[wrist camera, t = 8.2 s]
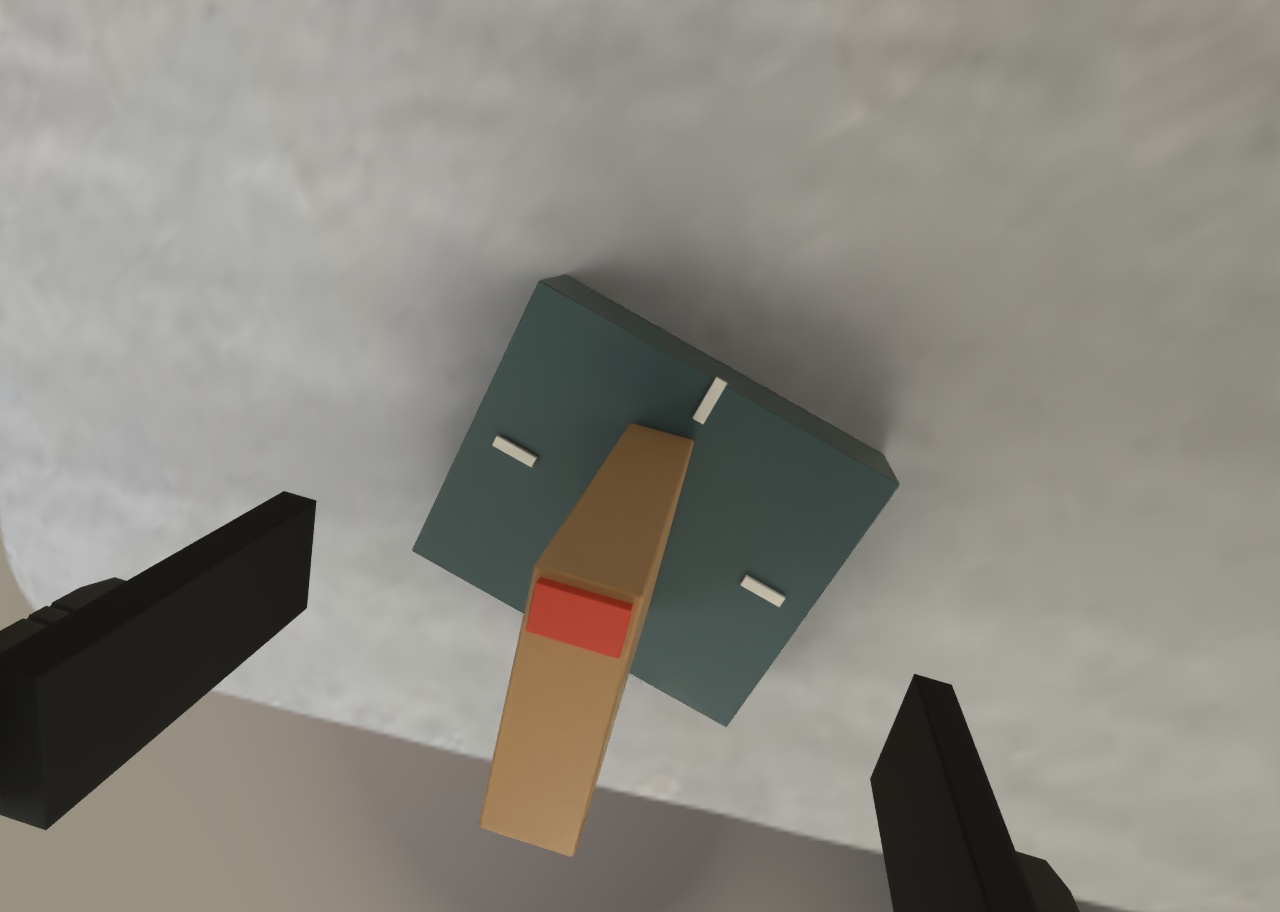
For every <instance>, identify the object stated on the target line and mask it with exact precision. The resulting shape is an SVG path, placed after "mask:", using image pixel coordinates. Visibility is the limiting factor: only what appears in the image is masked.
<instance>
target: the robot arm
mask: <svg viewBox="0 0 1280 912" xmlns="http://www.w3.org/2000/svg"><path fill="white" fill-rule="evenodd" d="M315 510H316V500H313V499H309V498H306V497H302V496H299V495H296V494H292V493H289V492H285V491H283V492H281V493H280V494H278V495H276V496H274V497H273V498H271V499H269V500H267V501H266V502H264V503H262V504H260V505H259V506H257V507H255V508H253V509H252V510H250V511H248V512H246V513H245V514H243V515H241V516H239V517H238V518H236V519H234V520H232V521H231V522H229V523H227V524H225V525H224V526H222V527H220V528H218V529H217V530H215V531H213V532H211V533H210V534H208V535H206V536H204V537H203V538H201V539H199V540H197V541H196V542H194V543H192V544H190V545H189V546H187V547H185V548H183V549H182V550H180V551H178V552H176V553H175V554H173V555H171V556H169V557H168V558H166V559H164V560H162V561H161V562H159V563H157V564H155V565H154V566H152V567H150V568H148V569H147V570H145V571H143V572H141V573H140V574H138V575H136V576H134V577H133V578H131V579H129V580H128V581H125V580H122V579H118V578H115V577H114V578H111V579H108V580H104V581H101V582H97V583H94V584H90V585H87V586H84V587H80V588H78V589H76V590H75V591H73V592H71V593H69V594H67V595H65V596H63V597H62V598H60V599H58V600H56V601H54V602H52V605H51V606H50V607H49V606H45V607H43V608H41V609H40V610H38V611H36V612H34V613H32V614H30V615H29V617H28V618H27V619H21V620H19V621H17V622H16V623H14V624H12V625H10V626H8V627H6V628H5V629H3V630H1V631H0V815H2V816H5V817H8V818H11V819H14V820H17V821H20V822H23V823H26V824H29V825H32V826H35V827H38V828H41V829H44V830H47V829H48V828H49V827H50V826H52V825H53V824H54V823H55V822H56V821H57V820H59V819H60V818H61V817H62V816H63V815H64V814H66V813H67V812H68V811H69V810H70V809H71V808H73V807H74V806H75V805H76V804H77V803H78V802H80V801H81V800H82V799H83V798H84V797H86V796H87V795H88V794H89V793H90V792H92V791H93V790H94V789H95V788H96V787H97V786H98V785H100V784H101V783H102V782H103V781H104V780H105V779H107V778H108V777H109V776H110V775H111V774H113V773H114V772H115V771H116V770H117V769H119V768H120V767H121V766H122V765H123V764H124V763H126V762H127V761H128V760H129V759H130V758H131V757H133V756H134V755H135V754H136V753H137V752H138V751H140V750H141V749H142V748H143V747H144V746H146V745H147V744H148V743H149V742H150V741H151V740H153V739H154V738H155V737H156V736H157V735H158V734H160V733H161V732H162V731H163V730H164V729H165V728H167V727H168V726H169V725H170V724H171V723H173V722H174V721H175V720H176V719H177V718H178V717H179V716H181V715H182V714H183V713H184V712H185V711H187V710H188V709H189V708H190V707H191V706H192V705H194V704H195V703H196V702H197V701H198V700H199V699H201V698H202V697H203V696H204V695H205V694H207V693H208V692H209V691H210V690H211V689H212V688H214V687H215V686H216V685H217V684H218V683H219V682H221V681H222V680H223V679H224V678H225V677H227V676H228V675H229V674H230V673H231V672H232V671H234V670H235V669H236V668H237V667H238V666H239V665H241V664H242V663H243V662H244V661H245V660H246V659H248V658H249V657H250V656H251V655H252V654H254V653H255V652H256V651H257V650H258V649H259V648H261V647H262V646H263V645H264V644H265V643H266V642H268V641H269V640H270V639H271V638H272V637H273V636H275V635H276V634H277V633H278V632H279V631H281V630H282V629H283V628H284V627H285V626H286V625H288V624H289V623H290V622H291V621H292V620H293V619H295V618H296V617H297V616H298V615H299V614H300V613H302V612H303V611H304V610H305V609H306V608H307V601H308V589H309V578H310V567H311V556H312V544H313V533H314V522H315ZM870 780H871V786H872V792H873V797H874V803H875V809H876V814H877V820H878V826H879V831H880V837H881V843H882V849H883V854H884V859H885V866H886V871H887V877H888V883H889V888H890V894H891V900H892V905H893V911H894V912H1079V910H1078V907H1077V905H1076V903H1075V900H1074V898H1073V896H1072V894H1071V891H1070V890H1069V889H1068V887H1067V886H1066V885H1065V884H1064V882H1063V881H1062V880H1061V879H1060V877H1059V876H1058V875H1057V874H1056V872H1055V871H1054V870H1053V869H1052V867H1051V866H1050V865H1049V864H1048V862H1047V861H1046V860H1043V859H1040V858H1037V857H1033V856H1030V855H1027V854H1023V853H1020V852H1017V851H1015V848H1014V846H1013V843H1012V841H1011V838H1010V835H1009V833H1008V830H1007V827H1006V825H1005V822H1004V820H1003V817H1002V814H1001V812H1000V809H999V807H998V804H997V801H996V799H995V796H994V794H993V791H992V788H991V786H990V783H989V781H988V778H987V775H986V773H985V770H984V767H983V765H982V762H981V760H980V757H979V754H978V752H977V749H976V747H975V744H974V741H973V739H972V736H971V734H970V731H969V728H968V726H967V723H966V721H965V718H964V715H963V713H962V710H961V708H960V705H959V702H958V700H957V697H956V694H955V692H954V689H953V687H952V685H951V684H947V683H944V682H940V681H937V680H933V679H930V678H927V677H923V676H920V675H916V674H914V676H913V678H912V681H911V683H910V685H909V688H908V690H907V693H906V695H905V697H904V700H903V702H902V704H901V707H900V709H899V712H898V714H897V716H896V719H895V721H894V723H893V726H892V728H891V731H890V733H889V735H888V738H887V740H886V742H885V745H884V747H883V750H882V752H881V754H880V757H879V759H878V761H877V764H876V766H875V769H874V771H873V773H872V776H871V778H870Z"/></svg>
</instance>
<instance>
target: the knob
mask: <svg viewBox="0 0 1280 912" xmlns="http://www.w3.org/2000/svg"><path fill="white" fill-rule="evenodd" d="M693 445H694V441H693V440H692V439H688V438H685V437H681V436H677V435H674V434H670V433H667V432H663V431H659V430H656V429H652V428H648V427H645V426H641V425H638V424H634V423H630V424H629V426H628V427H627V429H626V430H625V432H624V433H623V435H622V436H621V438H620V439H619V441H618V442H617V444H616V445H615V447H614V448H613V450H612V451H611V453H610V454H609V456H608V457H607V458H606V460H605V461H604V463H603V464H602V466H601V467H600V469H599V470H598V472H597V473H596V475H595V476H594V478H593V479H592V481H591V482H590V484H589V485H588V487H587V488H586V490H585V491H584V493H583V494H582V496H581V497H580V499H579V500H578V501H577V503H576V504H575V506H574V507H573V509H572V510H571V512H570V513H569V515H568V516H567V518H566V519H565V521H564V522H563V524H562V525H561V527H560V528H559V530H558V531H557V533H556V534H555V536H554V537H553V539H552V540H551V542H550V543H549V545H548V546H547V547H546V549H545V550H544V552H543V553H542V555H541V556H540V558H539V559H538V561H537V562H536V564H535V565H534V569H533V574H532V578H531V583H530V588H529V592H528V597H527V602H526V606H525V611H524V616H523V620H522V625H521V630H520V634H519V639H518V644H517V648H516V653H515V658H514V662H513V667H512V672H511V676H510V681H509V686H508V690H507V695H506V700H505V704H504V709H503V714H502V718H501V723H500V728H499V732H498V737H497V742H496V746H495V751H494V756H493V760H492V765H491V770H490V774H489V779H488V784H487V788H486V793H485V797H484V802H483V807H482V811H481V816H480V821H479V825H480V827H481V828H483V829H486V830H489V831H493V832H496V833H499V834H502V835H505V836H508V837H511V838H514V839H517V840H521V841H523V842H527V843H530V844H533V845H536V846H539V847H542V848H546V849H548V850H551V851H555V852H558V853H561V854H564V855H567V856H573V855H574V854H575V852H576V849H577V846H578V842H579V839H580V836H581V832H582V829H583V826H584V822H585V819H586V816H587V812H588V809H589V806H590V802H591V799H592V796H593V792H594V789H595V786H596V782H597V779H598V776H599V772H600V769H601V766H602V762H603V759H604V756H605V752H606V749H607V746H608V742H609V739H610V736H611V732H612V729H613V726H614V722H615V719H616V716H617V712H618V709H619V706H620V702H621V699H622V695H623V692H624V689H625V685H626V682H627V679H628V675H629V672H630V669H631V665H632V662H633V659H634V655H635V652H636V649H637V645H638V642H639V639H640V635H641V632H642V629H643V625H644V622H645V619H646V615H647V612H648V608H649V605H650V601H651V597H652V594H653V590H654V587H655V583H656V579H657V576H658V572H659V568H660V565H661V561H662V558H663V554H664V550H665V547H666V543H667V539H668V536H669V532H670V528H671V525H672V521H673V518H674V514H675V510H676V507H677V503H678V499H679V496H680V492H681V489H682V485H683V481H684V478H685V474H686V470H687V467H688V463H689V459H690V456H691V452H692V449H693Z"/></svg>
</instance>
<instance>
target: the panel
mask: <svg viewBox="0 0 1280 912" xmlns="http://www.w3.org/2000/svg"><path fill="white" fill-rule="evenodd" d="M630 423H634V424H638V425H641V426H645V427H648V428H652V429H656V430H659V431H663V432H667V433H670V434H674V435H677V436H681V437H685V438H688V439H692V440H693V441H694V445H693V449H692V452H691V456H690V459H689V463H688V467H687V470H686V474H685V478H684V481H683V485H682V489H681V492H680V496H679V499H678V503H677V507H676V510H675V514H674V518H673V521H672V525H671V528H670V532H669V536H668V539H667V543H666V547H665V550H664V554H663V558H662V561H661V565H660V568H659V572H658V576H657V579H656V583H655V587H654V590H653V594H652V597H651V601H650V605H649V608H648V612H647V615H646V619H645V622H644V625H643V629H642V632H641V635H640V639H639V642H638V645H637V649H636V652H635V655H634V659H633V662H632V665H631V669H630V672H629V673H631V674H632V675H634V676H636V677H638V678H639V679H641V680H643V681H645V682H647V683H648V684H650V685H652V686H654V687H655V688H657V689H659V690H661V691H663V692H664V693H666V694H668V695H670V696H671V697H673V698H675V699H677V700H679V701H680V702H682V703H684V704H686V705H687V706H689V707H691V708H693V709H695V710H696V711H698V712H700V713H702V714H703V715H705V716H707V717H709V718H711V719H712V720H714V721H716V722H718V723H719V724H721V725H723V726H725V727H727V726H728V724H729V723H730V721H731V720H732V719H733V717H734V716H735V714H736V713H737V712H738V710H739V709H740V707H741V706H742V705H743V703H744V702H745V700H746V699H747V698H748V696H749V695H750V693H751V692H752V691H753V689H754V688H755V686H756V685H757V684H758V682H759V681H760V679H761V678H762V677H763V675H764V674H765V672H766V671H767V670H768V668H769V667H770V665H771V664H772V663H773V661H774V660H775V659H776V657H777V656H778V654H779V653H780V652H781V650H782V649H783V647H784V646H785V645H786V643H787V642H788V640H789V639H790V638H791V636H792V635H793V633H794V632H795V631H796V629H797V628H798V626H799V625H800V624H801V622H802V621H803V619H804V618H805V617H806V615H807V614H808V612H809V611H810V610H811V608H812V607H813V605H814V604H815V603H816V601H817V600H818V598H819V597H820V596H821V594H822V593H823V591H824V590H825V589H826V587H827V586H828V584H829V583H830V582H831V580H832V579H833V578H834V576H835V575H836V573H837V572H838V571H839V569H840V568H841V566H842V565H843V564H844V562H845V561H846V559H847V558H848V557H849V555H850V554H851V552H852V551H853V550H854V548H855V547H856V545H857V544H858V543H859V541H860V540H861V538H862V537H863V536H864V534H865V533H866V531H867V530H868V529H869V527H870V526H871V524H872V523H873V522H874V520H875V519H876V517H877V516H878V515H879V513H880V512H881V510H882V509H883V508H884V506H885V505H886V503H887V502H888V501H889V499H890V498H891V497H892V495H893V494H894V492H895V491H896V490H897V488H898V487H899V485H900V484H899V482H898V480H897V478H896V477H895V475H894V473H893V471H892V469H891V467H890V465H889V463H888V461H887V460H886V458H885V456H884V455H883V454H882V453H880V452H878V451H876V450H875V449H873V448H871V447H869V446H868V445H866V444H864V443H862V442H861V441H859V440H857V439H855V438H853V437H852V436H850V435H848V434H846V433H845V432H843V431H841V430H839V429H838V428H836V427H834V426H832V425H830V424H829V423H827V422H825V421H823V420H822V419H820V418H818V417H816V416H815V415H813V414H811V413H809V412H808V411H806V410H804V409H802V408H800V407H799V406H797V405H795V404H793V403H792V402H790V401H788V400H786V399H785V398H783V397H781V396H779V395H778V394H776V393H774V392H772V391H770V390H769V389H767V388H765V387H763V386H762V385H760V384H758V383H756V382H755V381H753V380H751V379H749V378H748V377H746V376H744V375H742V374H740V373H739V372H737V371H735V370H733V369H732V368H730V367H728V366H726V365H725V364H723V363H721V362H719V361H717V360H716V359H714V358H712V357H710V356H709V355H707V354H705V353H703V352H702V351H700V350H698V349H696V348H695V347H693V346H691V345H689V344H687V343H686V342H684V341H682V340H680V339H679V338H677V337H675V336H673V335H672V334H670V333H668V332H666V331H665V330H663V329H661V328H659V327H657V326H656V325H654V324H652V323H650V322H649V321H647V320H645V319H643V318H642V317H640V316H638V315H636V314H635V313H633V312H631V311H629V310H627V309H626V308H624V307H622V306H620V305H619V304H617V303H615V302H613V301H612V300H610V299H608V298H606V297H604V296H603V295H601V294H599V293H597V292H596V291H594V290H592V289H590V288H589V287H587V286H585V285H583V284H582V283H580V282H578V281H576V280H574V279H573V278H571V277H569V276H567V275H560V276H556V277H552V278H548V279H544V280H540V281H539V282H538V284H537V286H536V288H535V290H534V292H533V295H532V297H531V299H530V301H529V303H528V305H527V307H526V309H525V312H524V314H523V316H522V318H521V320H520V322H519V324H518V326H517V329H516V331H515V333H514V335H513V337H512V339H511V341H510V343H509V345H508V348H507V350H506V352H505V354H504V356H503V358H502V360H501V362H500V365H499V367H498V369H497V371H496V373H495V375H494V377H493V379H492V382H491V384H490V386H489V388H488V390H487V392H486V394H485V396H484V398H483V401H482V403H481V405H480V407H479V409H478V411H477V413H476V415H475V418H474V420H473V422H472V424H471V426H470V428H469V430H468V432H467V435H466V437H465V439H464V441H463V443H462V445H461V447H460V449H459V452H458V454H457V456H456V458H455V460H454V462H453V464H452V466H451V468H450V471H449V473H448V475H447V477H446V479H445V481H444V483H443V485H442V488H441V490H440V492H439V494H438V496H437V498H436V500H435V502H434V505H433V507H432V509H431V511H430V513H429V515H428V517H427V519H426V522H425V524H424V526H423V528H422V530H421V532H420V534H419V536H418V538H417V541H416V543H415V545H414V547H413V549H412V551H413V552H415V553H417V554H419V555H421V556H422V557H424V558H426V559H428V560H429V561H431V562H433V563H435V564H437V565H438V566H440V567H442V568H444V569H445V570H447V571H449V572H451V573H453V574H454V575H456V576H458V577H460V578H461V579H463V580H465V581H467V582H469V583H470V584H472V585H474V586H476V587H478V588H479V589H481V590H483V591H485V592H486V593H488V594H490V595H492V596H494V597H495V598H497V599H499V600H501V601H502V602H504V603H506V604H508V605H510V606H511V607H513V608H515V609H517V610H518V611H520V612H522V613H524V611H525V606H526V602H527V597H528V592H529V588H530V583H531V578H532V574H533V569H534V565H535V564H536V562H537V561H538V559H539V558H540V556H541V555H542V553H543V552H544V550H545V549H546V547H547V546H548V545H549V543H550V542H551V540H552V539H553V537H554V536H555V534H556V533H557V531H558V530H559V528H560V527H561V525H562V524H563V522H564V521H565V519H566V518H567V516H568V515H569V513H570V512H571V510H572V509H573V507H574V506H575V504H576V503H577V501H578V500H579V499H580V497H581V496H582V494H583V493H584V491H585V490H586V488H587V487H588V485H589V484H590V482H591V481H592V479H593V478H594V476H595V475H596V473H597V472H598V470H599V469H600V467H601V466H602V464H603V463H604V461H605V460H606V458H607V457H608V456H609V454H610V453H611V451H612V450H613V448H614V447H615V445H616V444H617V442H618V441H619V439H620V438H621V436H622V435H623V433H624V432H625V430H626V429H627V427H628V426H629V424H630Z"/></svg>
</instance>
